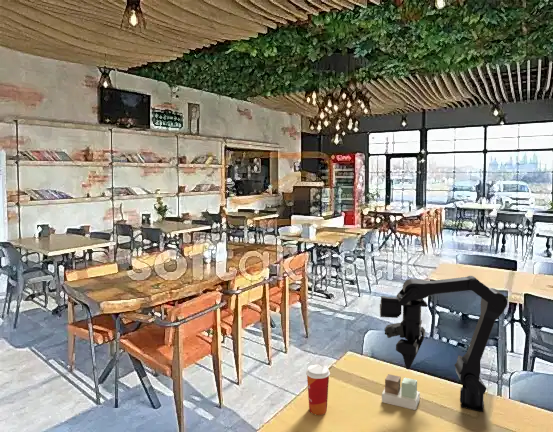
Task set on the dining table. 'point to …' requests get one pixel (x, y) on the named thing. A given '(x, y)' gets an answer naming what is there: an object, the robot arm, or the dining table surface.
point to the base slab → (401, 400)
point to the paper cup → (318, 388)
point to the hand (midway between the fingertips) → (410, 363)
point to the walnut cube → (392, 384)
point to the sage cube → (409, 388)
